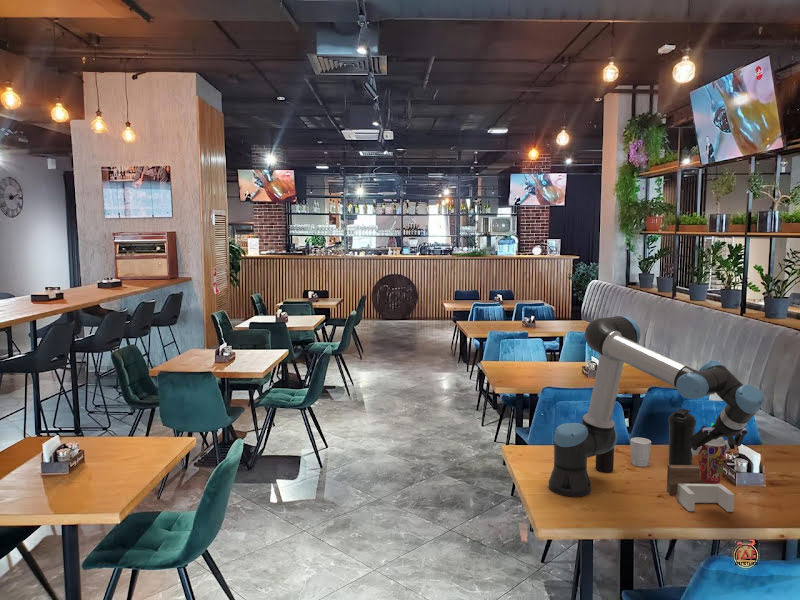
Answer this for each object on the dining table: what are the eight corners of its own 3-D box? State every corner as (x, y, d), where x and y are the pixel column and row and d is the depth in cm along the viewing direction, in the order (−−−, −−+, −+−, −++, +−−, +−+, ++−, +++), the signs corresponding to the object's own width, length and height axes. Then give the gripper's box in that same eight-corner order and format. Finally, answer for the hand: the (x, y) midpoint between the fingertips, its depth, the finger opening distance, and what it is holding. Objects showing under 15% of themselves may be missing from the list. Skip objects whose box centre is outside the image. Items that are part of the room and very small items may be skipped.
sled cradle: (733, 511, 205) (734, 494, 204) (688, 511, 205) (688, 493, 204) (720, 500, 213) (721, 484, 213) (677, 500, 214) (677, 483, 213)
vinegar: (591, 469, 244) (593, 420, 242) (602, 465, 248) (603, 417, 246) (606, 474, 239) (608, 424, 237) (616, 470, 243) (618, 421, 241)
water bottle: (697, 465, 248) (700, 410, 246) (689, 472, 240) (691, 415, 238) (671, 459, 255) (673, 406, 253) (662, 466, 247) (665, 410, 245)
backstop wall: (715, 495, 218) (716, 468, 218) (669, 494, 219) (671, 467, 218) (711, 492, 221) (712, 465, 221) (666, 491, 222) (667, 464, 221)
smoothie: (723, 487, 200) (725, 428, 198) (695, 482, 205) (697, 424, 203) (725, 479, 207) (727, 422, 206) (698, 474, 212) (700, 418, 210)
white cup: (653, 467, 246) (654, 443, 245) (633, 467, 246) (634, 443, 245) (646, 460, 254) (646, 437, 253) (626, 460, 254) (627, 437, 253)
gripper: (701, 430, 189) (678, 462, 206) (771, 431, 188) (741, 463, 206) (694, 409, 194) (672, 442, 211) (762, 409, 193) (734, 443, 211)
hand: (706, 452), depth 208 cm, fingers closed on smoothie, 8 cm apart
